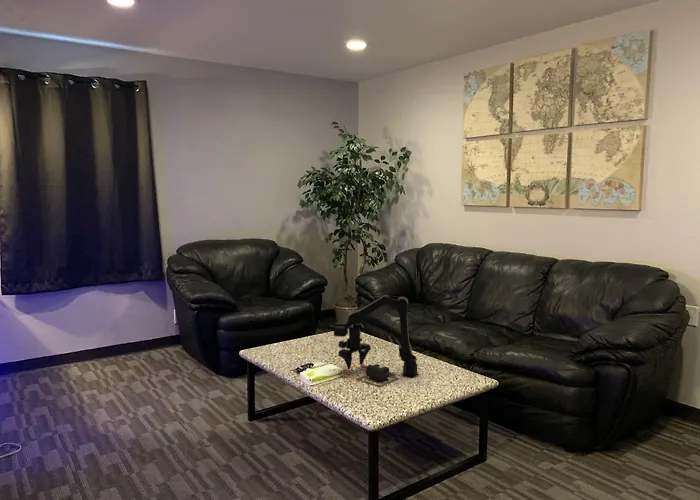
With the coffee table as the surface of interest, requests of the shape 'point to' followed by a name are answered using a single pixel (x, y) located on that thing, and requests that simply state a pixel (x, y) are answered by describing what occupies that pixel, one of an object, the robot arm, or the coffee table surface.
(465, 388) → the coffee table surface
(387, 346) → the coffee table surface
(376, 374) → the end cap
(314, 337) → the coffee table surface
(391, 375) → the metal rail
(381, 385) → the walnut seat frame
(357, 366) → the orange marked frame
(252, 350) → the coffee table surface
